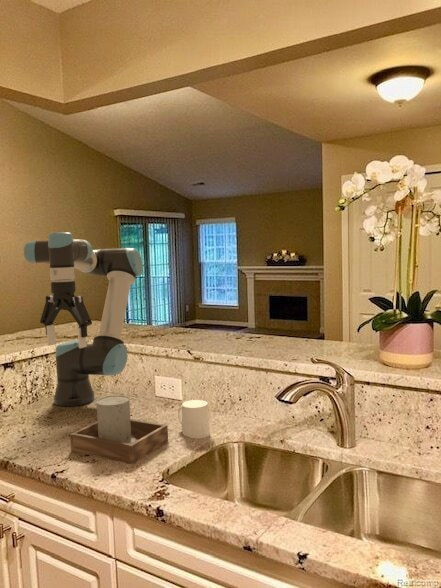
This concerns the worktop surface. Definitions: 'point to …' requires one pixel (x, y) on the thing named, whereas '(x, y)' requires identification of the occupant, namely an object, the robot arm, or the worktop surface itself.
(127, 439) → the grey speckled cylinder
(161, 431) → the box
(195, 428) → the mug
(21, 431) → the worktop surface
